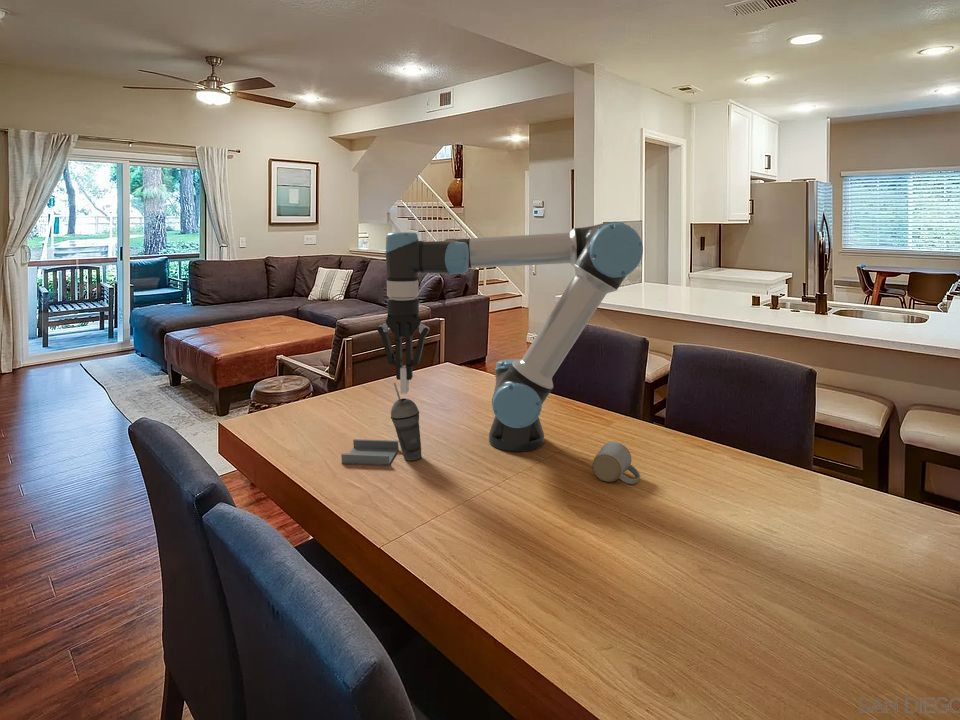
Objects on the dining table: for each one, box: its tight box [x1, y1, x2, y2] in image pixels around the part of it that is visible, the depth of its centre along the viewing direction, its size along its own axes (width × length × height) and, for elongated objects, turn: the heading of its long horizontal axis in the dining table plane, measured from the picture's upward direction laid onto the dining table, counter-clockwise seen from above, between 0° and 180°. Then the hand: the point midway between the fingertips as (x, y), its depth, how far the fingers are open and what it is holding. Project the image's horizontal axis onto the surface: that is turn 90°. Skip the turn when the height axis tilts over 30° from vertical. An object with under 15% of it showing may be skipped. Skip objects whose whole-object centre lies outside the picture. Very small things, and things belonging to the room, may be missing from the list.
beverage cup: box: [390, 382, 422, 461], centre depth 148 cm, size 7×7×20 cm
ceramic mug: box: [592, 441, 641, 485], centre depth 138 cm, size 11×8×8 cm
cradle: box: [340, 438, 400, 467], centre depth 151 cm, size 12×11×2 cm
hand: (404, 391), depth 146 cm, fingers closed
